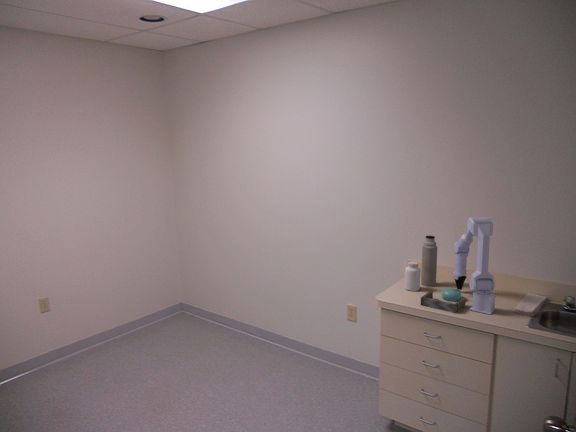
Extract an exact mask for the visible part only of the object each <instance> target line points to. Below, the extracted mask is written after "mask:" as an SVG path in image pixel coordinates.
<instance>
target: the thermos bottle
mask: <svg viewBox="0 0 576 432" xmlns="http://www.w3.org/2000/svg"><path fill="white" fill-rule="evenodd" d="M421 247H422V248H421V249H422V250H421V251H422V252H421V273H420V286H421V285H422V286H423V287H429V288H432V287H436V285H437V270H438V269H437V264H438V245H437V242H436V239H435V236H434V235H426V236H425V240H424V241H423V245H422V246H421Z"/></svg>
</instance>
